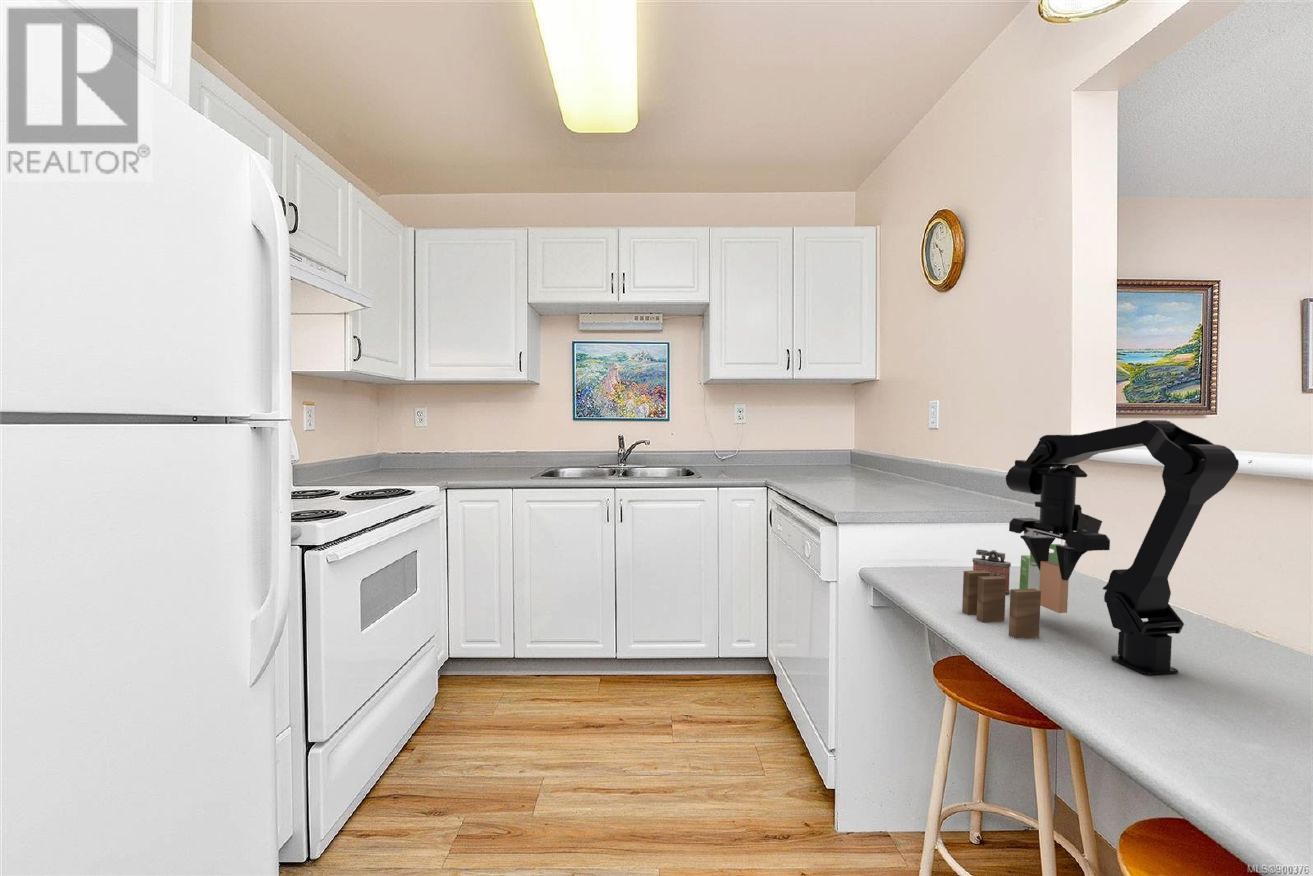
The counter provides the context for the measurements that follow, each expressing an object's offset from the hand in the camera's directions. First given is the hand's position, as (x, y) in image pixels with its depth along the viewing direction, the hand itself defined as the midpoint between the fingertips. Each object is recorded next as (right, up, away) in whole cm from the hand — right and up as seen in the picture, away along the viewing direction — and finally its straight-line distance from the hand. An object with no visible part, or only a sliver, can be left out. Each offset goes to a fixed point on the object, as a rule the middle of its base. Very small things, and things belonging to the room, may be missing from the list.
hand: (1054, 576), depth 118 cm
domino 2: (-10, -10, +5) cm, 15 cm away
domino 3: (-9, -11, -4) cm, 14 cm away
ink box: (+10, -10, +20) cm, 25 cm away
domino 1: (-11, -10, +9) cm, 17 cm away
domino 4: (0, -7, 0) cm, 7 cm away
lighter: (+2, -10, +26) cm, 28 cm away
